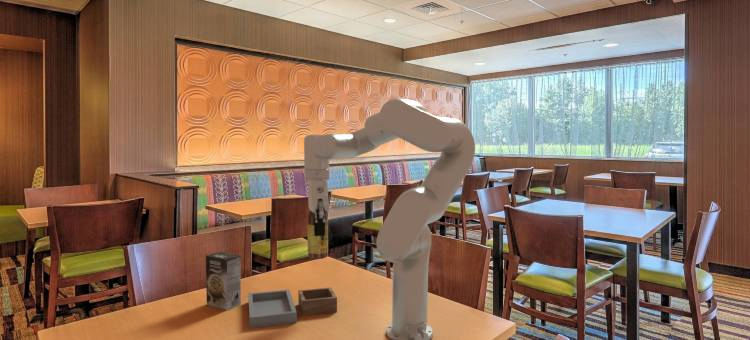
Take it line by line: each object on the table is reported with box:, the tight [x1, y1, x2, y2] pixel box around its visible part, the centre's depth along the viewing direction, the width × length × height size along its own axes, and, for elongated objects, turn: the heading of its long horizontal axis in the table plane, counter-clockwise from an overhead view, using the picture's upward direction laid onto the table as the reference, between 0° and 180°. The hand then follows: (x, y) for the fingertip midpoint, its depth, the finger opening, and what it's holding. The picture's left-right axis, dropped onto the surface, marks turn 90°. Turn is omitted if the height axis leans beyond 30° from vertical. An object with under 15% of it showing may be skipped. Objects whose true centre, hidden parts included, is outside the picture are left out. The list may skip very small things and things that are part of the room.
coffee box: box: [205, 251, 242, 311], centre depth 139 cm, size 9×6×16 cm
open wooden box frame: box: [298, 287, 338, 317], centre depth 137 cm, size 10×10×4 cm
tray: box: [247, 288, 298, 329], centre depth 134 cm, size 20×13×3 cm, turn 17°
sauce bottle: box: [307, 210, 329, 260], centre depth 135 cm, size 7×6×20 cm
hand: (317, 232), depth 135 cm, fingers closed on sauce bottle, 6 cm apart
